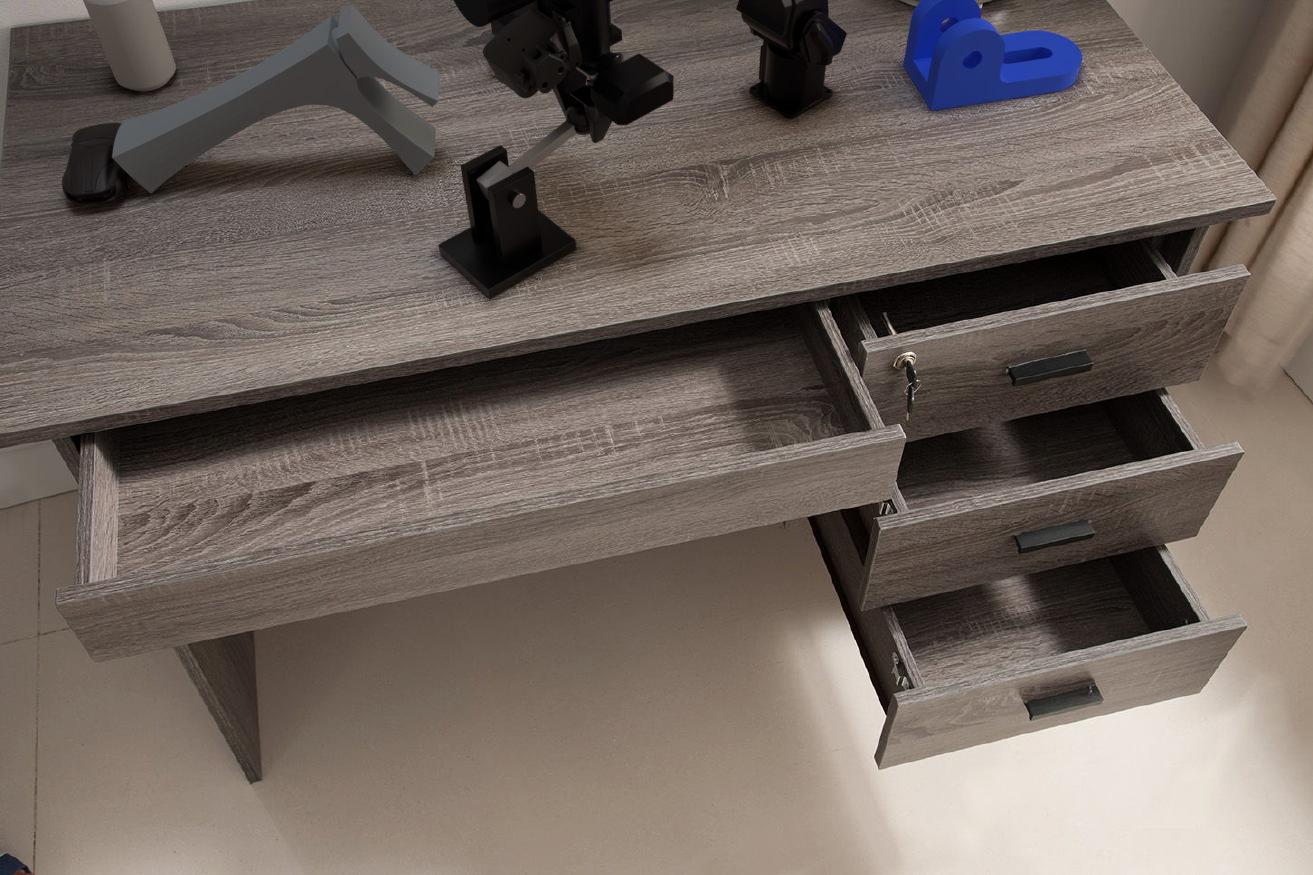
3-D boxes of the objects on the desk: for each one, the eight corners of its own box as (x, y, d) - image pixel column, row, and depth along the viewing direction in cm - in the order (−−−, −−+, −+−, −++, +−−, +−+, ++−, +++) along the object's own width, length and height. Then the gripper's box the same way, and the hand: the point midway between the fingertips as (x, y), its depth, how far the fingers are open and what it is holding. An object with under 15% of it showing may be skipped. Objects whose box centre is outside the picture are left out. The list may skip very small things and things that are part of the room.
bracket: (930, 111, 128) (946, 34, 121) (902, 65, 133) (916, -11, 126) (1090, 86, 130) (1114, 10, 124) (1057, 42, 136) (1078, -33, 129)
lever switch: (525, 207, 119) (515, 124, 111) (576, 250, 115) (570, 166, 107) (439, 254, 115) (423, 170, 107) (489, 299, 111) (476, 216, 103)
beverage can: (124, 101, 130) (82, -1, 121) (111, 70, 134) (69, -32, 124) (184, 84, 132) (147, -18, 123) (170, 54, 135) (133, -48, 126)
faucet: (230, 268, 128) (474, 153, 119) (109, 157, 116) (371, 19, 107) (238, 229, 132) (475, 114, 123) (121, 117, 120) (375, -19, 111)
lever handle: (589, 110, 113) (581, 85, 110) (611, 127, 112) (603, 101, 109) (482, 197, 111) (470, 173, 108) (503, 214, 109) (492, 191, 106)
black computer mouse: (140, 134, 127) (128, 103, 124) (127, 210, 119) (113, 179, 116) (83, 140, 126) (69, 109, 123) (66, 217, 119) (50, 186, 116)
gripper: (426, -34, 101) (454, 121, 114) (565, 66, 92) (580, 223, 105) (534, -82, 106) (550, 73, 118) (677, 9, 97) (678, 166, 109)
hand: (585, 132), depth 112 cm, fingers closed on lever handle, 3 cm apart
